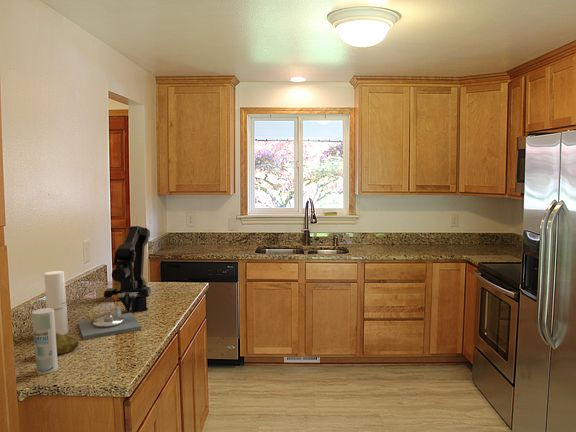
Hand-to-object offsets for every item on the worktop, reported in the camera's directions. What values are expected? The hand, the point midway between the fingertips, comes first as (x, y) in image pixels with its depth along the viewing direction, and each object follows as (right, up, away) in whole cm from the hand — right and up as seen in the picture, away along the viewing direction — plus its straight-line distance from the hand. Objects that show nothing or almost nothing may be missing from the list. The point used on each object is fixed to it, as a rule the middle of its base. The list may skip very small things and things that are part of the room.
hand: (128, 311), depth 208 cm
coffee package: (-16, -1, +39) cm, 42 cm away
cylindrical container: (-24, -6, -14) cm, 28 cm away
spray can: (-10, -9, -51) cm, 52 cm away
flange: (-6, -3, -6) cm, 9 cm away
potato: (-13, -8, -36) cm, 39 cm away
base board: (-6, -5, -8) cm, 11 cm away
